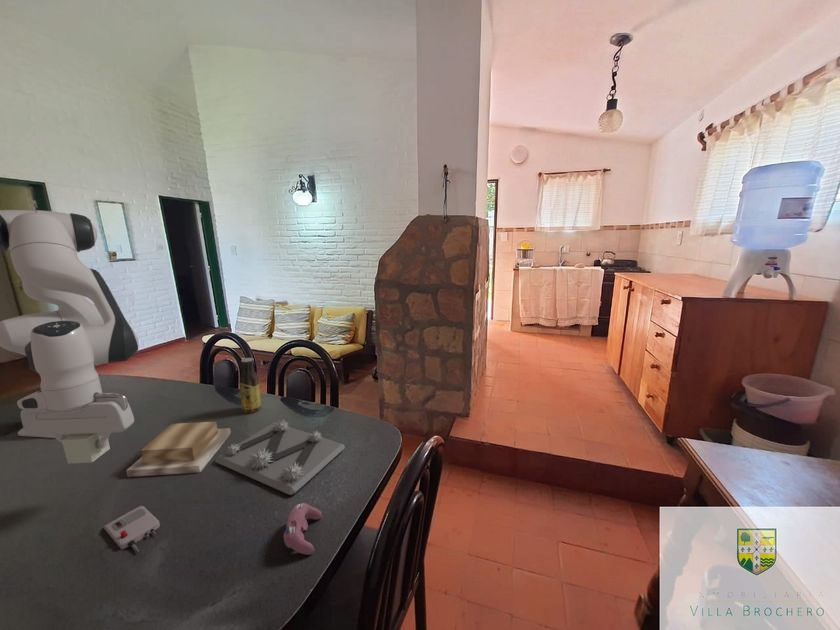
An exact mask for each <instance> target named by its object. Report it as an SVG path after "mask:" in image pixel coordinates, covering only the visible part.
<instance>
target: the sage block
mask: <svg viewBox="0 0 840 630" xmlns="http://www.w3.org/2000/svg"><path fill="white" fill-rule="evenodd" d="M100 437H101V436H98V435H97V433H86V434H70V435H69V436H68V437H66V438H65V439H63V440H62V443H61V444H62V447H63V451H64V454H65V457H66V458H65V459H66V461H67V464H69V465H70V464H86V463H90V464H91V463H93V462H95V461H96V460H97V459H98V458H100V457H101V456H102V455H104V454H105V453H106V452H108V451H109V450H111V447H110V444H109V445H108V446H107V447H105V448H102V449H96V446H95V442H97V441H99V439H100Z"/></svg>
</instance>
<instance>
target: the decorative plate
mask: <svg viewBox="0 0 840 630" xmlns="http://www.w3.org/2000/svg"><path fill="white" fill-rule="evenodd" d="M345 449H346V447H345V444H343V443H341V442H339V441H338V442H337V441H334V440H331V439H329V438H326V437H323V435H322V434H321V432H319V431H318V429H317V430H316V431H314V429H313V430H312V431H311V433H310V432H307V431H304V430H302V429H301V430H300V429H298V428H295V427H292V426H290V425H289V422H287V421H285V420H284V418H283V419H282V420H281V419H279V420H277V422H276V421H274V422H273V423H271V424H270V425H269V424H268V426H266V427H264V428H262V429H261V430H259V431H258V432H256V433H254V434H253V435H251V436H249V437H247V438H246V439H244V440H242V441H241V442H239V443H237V444H236V442H235V443H234V444H233V442H232V443H230V444H229V445H228V446H227V445H226V447H225V450H223V453H220V454H219V455H218V456H217V457H215V460H214V462H215V463H216V464H219V465H221V466H224V467H226V468H228V469H230V470H232V471H235V472H237V473H239V474H242V475H243V476H246V477H248V478H251V479H253V480H254V481H258V482H260V483H261V484H264V485H267V486H268V487H271V488H273V489H275V490H277V491H280V492H282V493H284V494H287V495H289V496H293V495H294V494H296V493H297V492H298V491H299V490H300V489H301V488H302V487H304V486H305V485H306V484H307V483H309V481H311V479H313V478H314V477H315V476H316V475H317V474H318V473H319V472H321V470H323V469H324V468H325V467H326V466H327V465H329V463H330V462H331V461H333V460H334V459H335V458H336V457H337V456H338V455H339V454H341V453H342V452H343V451H344V450H345Z"/></svg>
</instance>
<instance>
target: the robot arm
mask: <svg viewBox="0 0 840 630" xmlns="http://www.w3.org/2000/svg"><path fill="white" fill-rule="evenodd" d="M97 238H98V231H97V229H96V227H95V225H94V224H93V223H92V221H91V219H90V218H88V217H87V216H86V215H82V214H80V213H79V214H77V213H74V212H71V213H65V212H61V211H60V212H58V211H52V210H40V209H35V210H29V209H0V251H1V252H2V251H3V252H8V251H9V254H10V260H11V262H12V265H13V268H14V270H15V272H16V274H17V275H18V277H20V279H21V284H22V288H23V292H24V293H25V295H27V297H28V298H31V299H32V300H34V301H38V302H41V303H46V304H52V305H56V306H57V307H58V309H56V310H55V311H45V312H39V313H38V312H37V313H30V314H22V315H19V316H14V317H11V318H6V319H3V320H1V321H0V347H1V348H3V349H5V350H7V351H8V352H12V353H17V354H20V355H23V356H25V357H26V359H27V363H28V366H29V370H31V371H33V372H35V373H38V374H39V377H40V386H39V387H40V390H38V391H35V392H33V393H31V394H29V395H26V396H24V397H22V398H20V399H19V400H17V402H16V403H17V404H16V405H17V407H18V409H20V410H21V411H20V419H21V424H22V428H20V430H18V432H17V436H20V437H34V438H35V437H36V438H49V439H56V440H57V441H58V442H60V443H61V444H62V440H63V439H65V438H66V437H68V436H69V435H71V434H86V433H97V435H98V436H101V437H100V439H99V441H97V442H95V446H96V449H102V448H105V447H107V446H108V445H109V446H110V442H109V438H110V436H111V434H112V433H122V432H125V431H126V430H128V429H129V427H131V426H132V425H133V424H134V422H135V416H134V414H133V411H132V408H131V406H130V404H129V402H128V398H127V397H126V396H125V395H123V394H120V393H119V392H116V391H115V392H103V389H102V386H101V379H100V376H99V373H98V372H97V370H96V368H95V366H100V365H103V364H114V363H121V362H122V363H123V362H127V361H128V360H129V359H131V358H132V357H133V356H134V355H136V353H137V352H138V351H139V339H138V336H137V334H136V332H135V331H134V329H133V328H132V327H131V325H130V324H129V322H128V321H127V319H126V318H125V316H124V314H123V312H122V310H121V309H120V305H119V304H118V303H117V301H116V298H115V297H114V295H113V292H112V291H111V289H110V288H109V286H108V283H107V282H106V281H105V280H104V277H103V276H102V275H101V273H100V272H98V270H96V269H94V268H91V267H88V266H87V265H86V264H84V263H83V262H82V261H81V260H80V258H79V256H78V253H80V252H83V251H88V250H91V249H92V248H93V247H95V245H96V243H97V240H98V239H97ZM88 299H89V300H90V301H89V300H88ZM91 301H92V302H91Z"/></svg>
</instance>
